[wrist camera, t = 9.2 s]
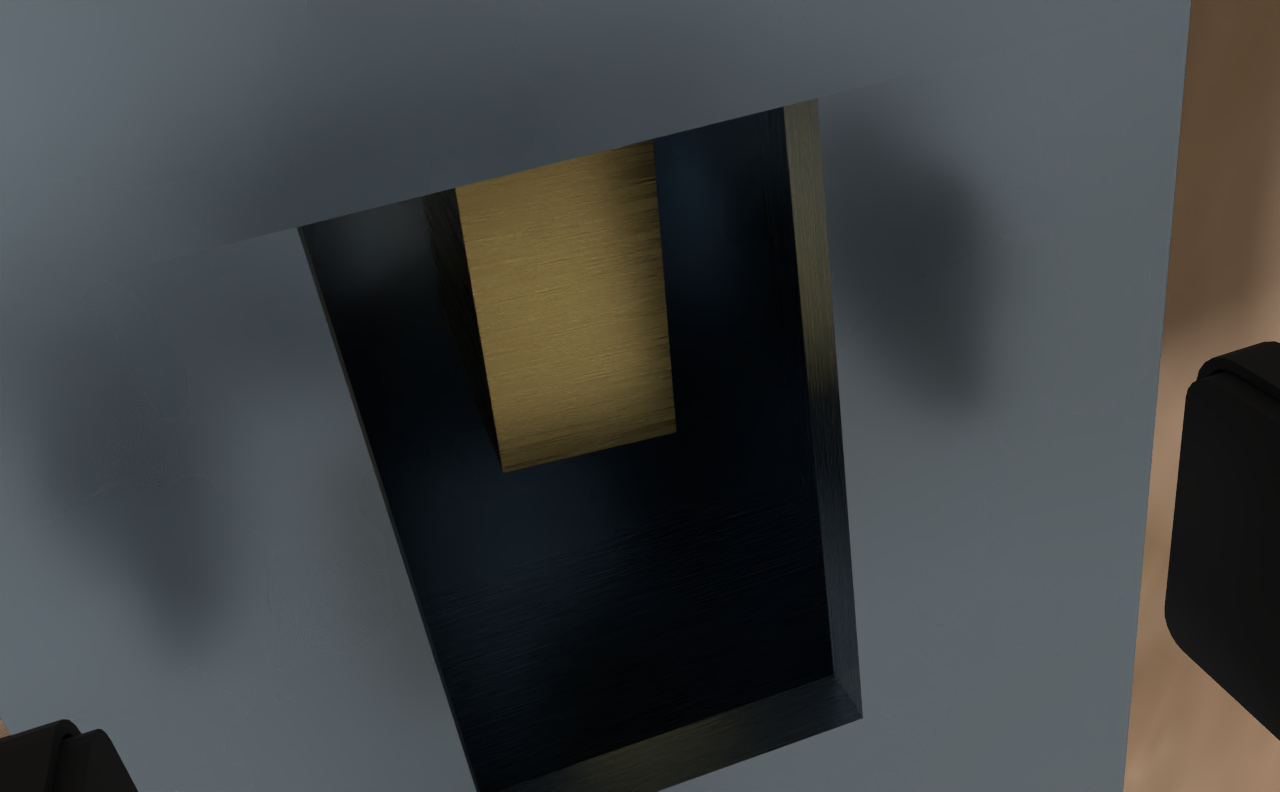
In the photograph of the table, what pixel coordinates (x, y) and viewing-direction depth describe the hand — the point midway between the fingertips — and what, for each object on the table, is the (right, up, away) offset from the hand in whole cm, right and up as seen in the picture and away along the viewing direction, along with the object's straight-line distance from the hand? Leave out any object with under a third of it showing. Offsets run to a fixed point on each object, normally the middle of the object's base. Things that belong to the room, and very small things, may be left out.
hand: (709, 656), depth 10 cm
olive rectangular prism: (-2, +7, +6) cm, 10 cm away
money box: (-4, +5, +10) cm, 12 cm away
